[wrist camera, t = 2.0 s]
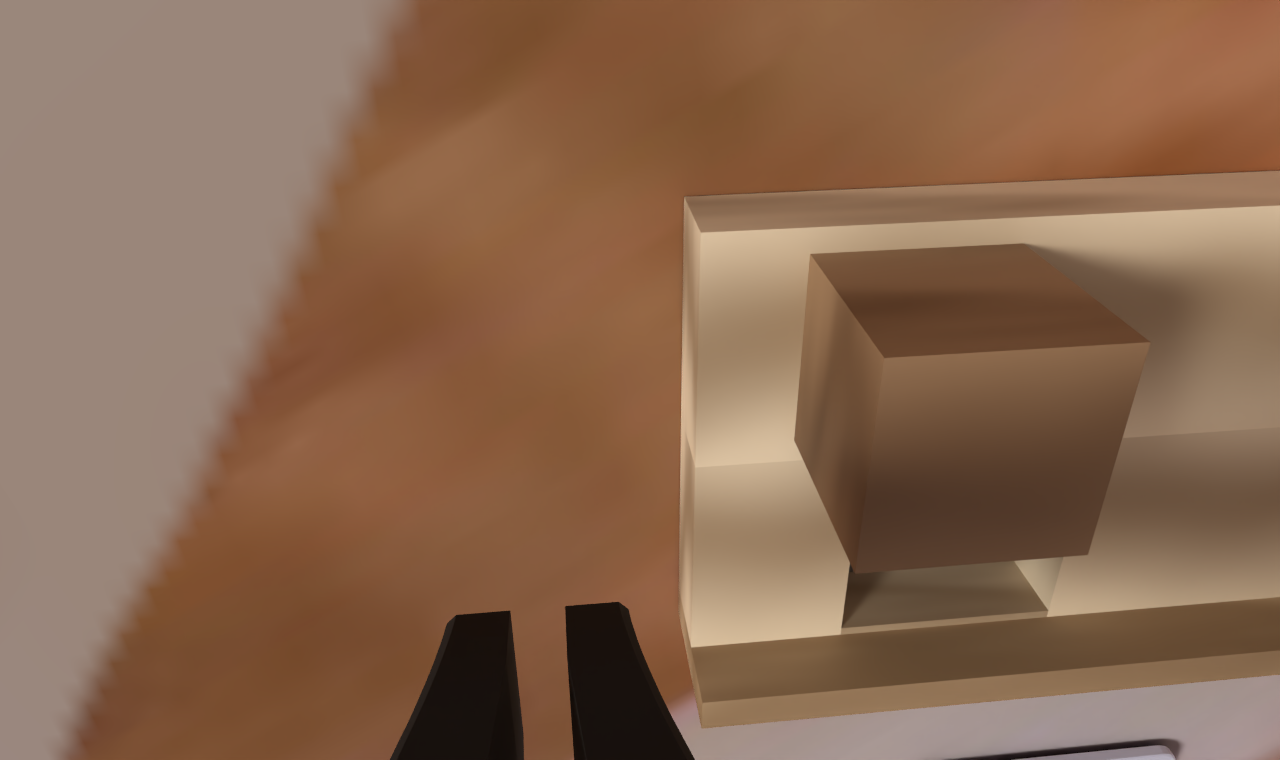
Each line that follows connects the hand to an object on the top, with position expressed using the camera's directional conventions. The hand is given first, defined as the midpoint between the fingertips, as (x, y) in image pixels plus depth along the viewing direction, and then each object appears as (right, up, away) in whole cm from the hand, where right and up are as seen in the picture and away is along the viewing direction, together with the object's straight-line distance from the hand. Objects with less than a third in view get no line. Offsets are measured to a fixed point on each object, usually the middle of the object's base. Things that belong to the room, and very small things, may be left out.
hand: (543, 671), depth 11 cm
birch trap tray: (+13, +3, +11) cm, 17 cm away
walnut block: (+6, +4, +7) cm, 10 cm away
